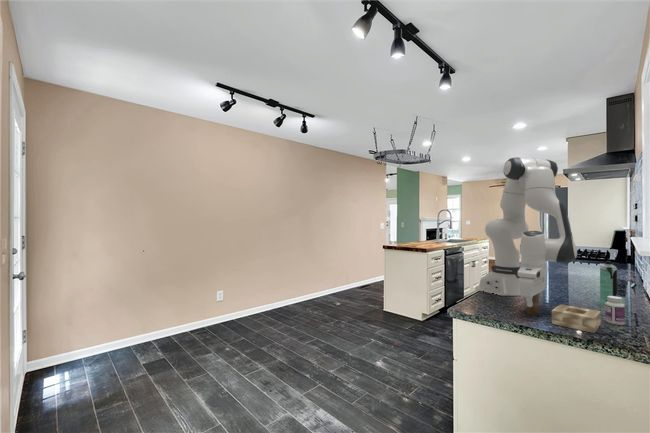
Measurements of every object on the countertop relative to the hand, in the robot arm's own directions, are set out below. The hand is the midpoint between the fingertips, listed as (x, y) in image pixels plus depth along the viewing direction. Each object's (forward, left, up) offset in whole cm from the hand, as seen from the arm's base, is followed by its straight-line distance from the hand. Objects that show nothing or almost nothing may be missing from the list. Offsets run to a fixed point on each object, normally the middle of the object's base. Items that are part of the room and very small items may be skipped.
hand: (533, 304), depth 122 cm
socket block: (+14, -1, -4) cm, 14 cm away
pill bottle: (+23, +12, -5) cm, 26 cm away
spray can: (+18, +38, -4) cm, 42 cm away
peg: (0, 0, -4) cm, 4 cm away
